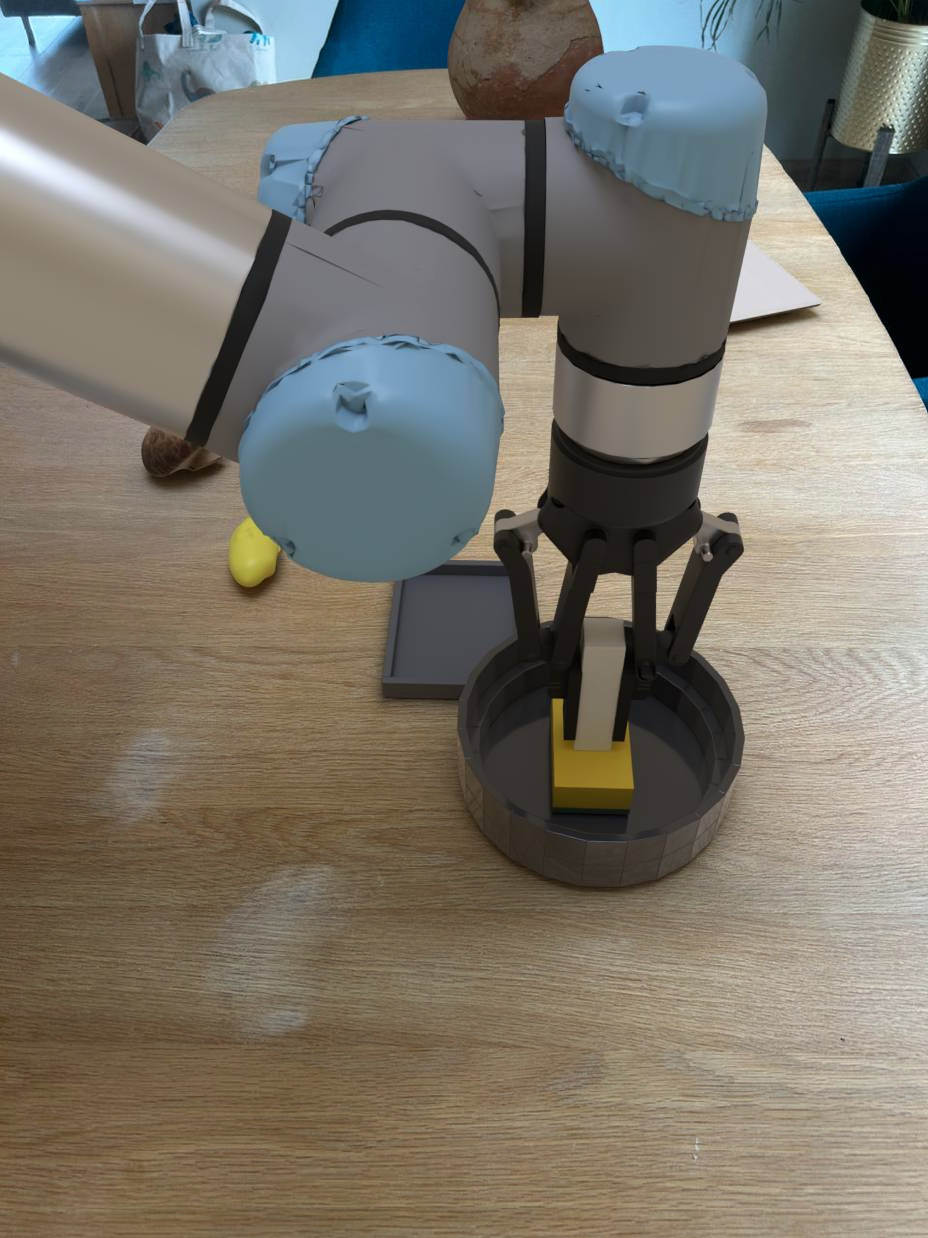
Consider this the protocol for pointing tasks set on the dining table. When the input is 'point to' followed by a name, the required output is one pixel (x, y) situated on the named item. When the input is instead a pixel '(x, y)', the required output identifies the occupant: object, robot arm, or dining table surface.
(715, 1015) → the dining table surface
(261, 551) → the yellow potato
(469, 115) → the jug
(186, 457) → the mushroom
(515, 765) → the bowl
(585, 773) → the sponge brush
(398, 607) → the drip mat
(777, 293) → the plate
